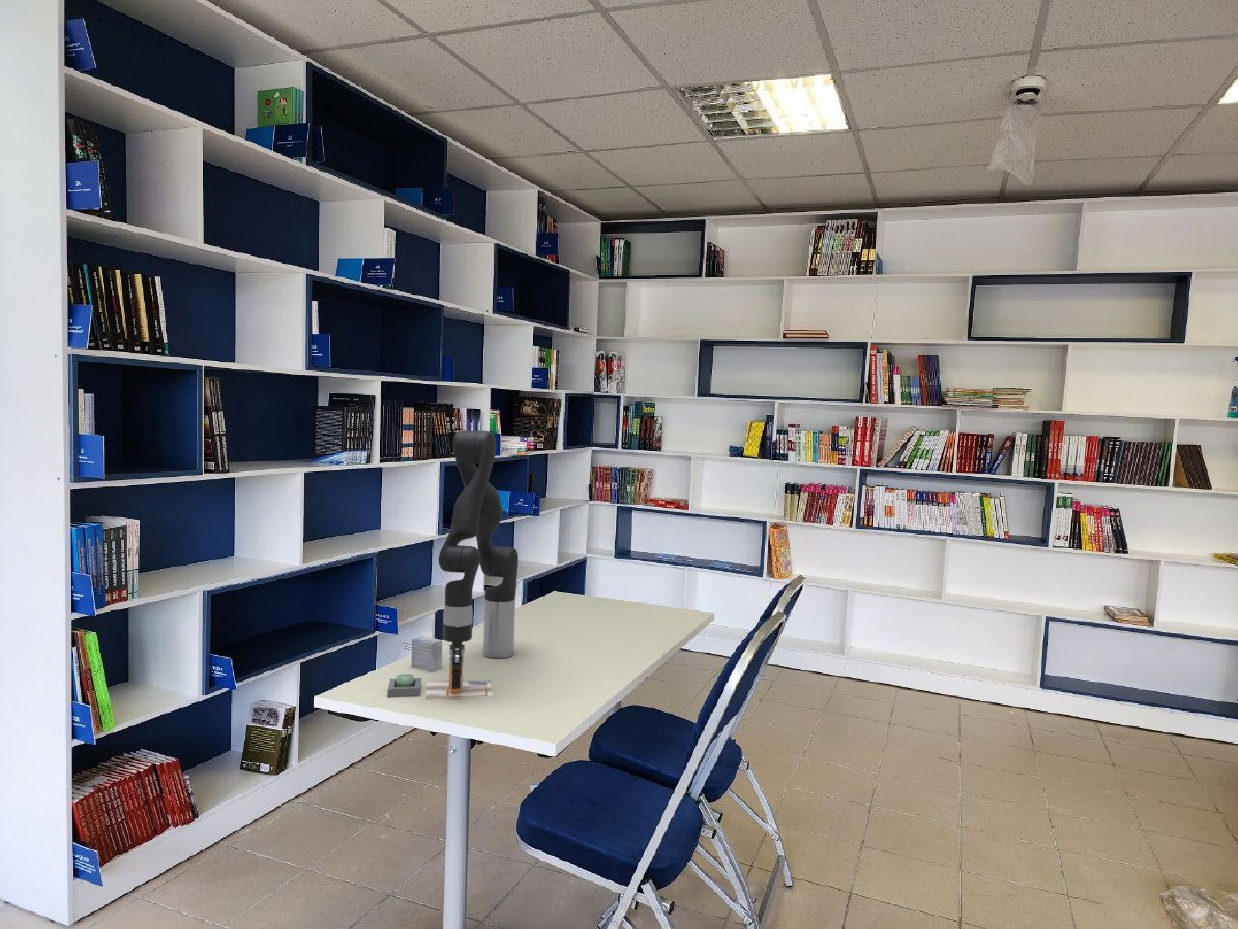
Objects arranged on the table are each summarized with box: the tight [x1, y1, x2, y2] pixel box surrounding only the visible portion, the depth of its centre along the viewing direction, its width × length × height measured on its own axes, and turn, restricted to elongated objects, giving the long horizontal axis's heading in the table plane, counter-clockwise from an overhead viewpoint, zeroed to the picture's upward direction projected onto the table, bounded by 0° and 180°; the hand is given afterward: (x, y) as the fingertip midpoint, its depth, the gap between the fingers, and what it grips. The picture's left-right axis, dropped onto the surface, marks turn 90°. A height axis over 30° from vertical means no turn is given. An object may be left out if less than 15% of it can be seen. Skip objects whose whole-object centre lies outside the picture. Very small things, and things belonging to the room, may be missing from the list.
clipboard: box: [425, 679, 494, 700], centre depth 213 cm, size 14×19×1 cm
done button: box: [395, 673, 415, 687], centre depth 210 cm, size 4×4×2 cm
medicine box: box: [411, 635, 443, 673], centre depth 230 cm, size 8×4×9 cm, turn 60°
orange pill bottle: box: [448, 657, 464, 694], centre depth 211 cm, size 4×4×9 cm
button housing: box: [387, 677, 422, 698], centre depth 210 cm, size 8×8×2 cm
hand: (456, 685), depth 211 cm, fingers closed on orange pill bottle, 3 cm apart
